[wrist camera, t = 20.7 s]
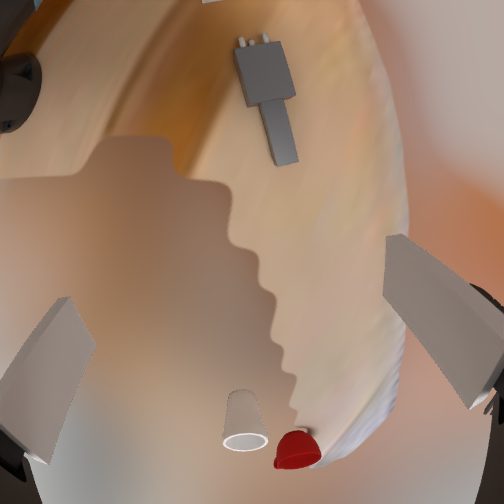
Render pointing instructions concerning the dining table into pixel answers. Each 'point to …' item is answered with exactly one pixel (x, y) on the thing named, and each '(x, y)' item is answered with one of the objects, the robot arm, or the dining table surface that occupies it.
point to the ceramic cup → (296, 451)
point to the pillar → (208, 0)
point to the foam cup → (243, 423)
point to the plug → (268, 92)
